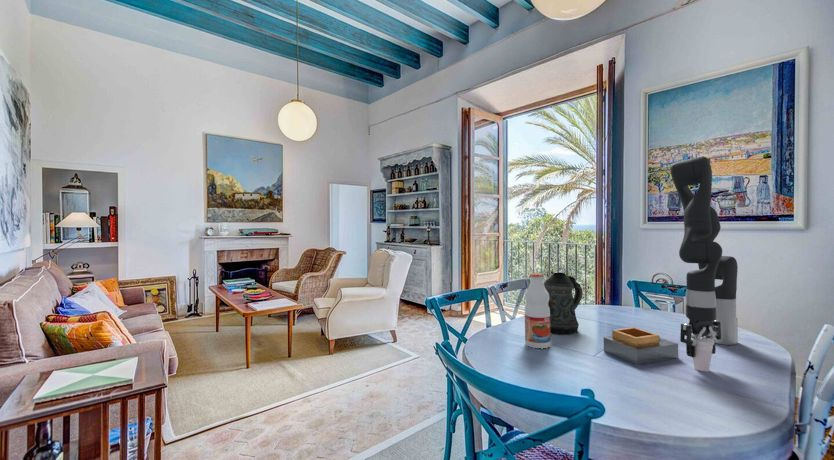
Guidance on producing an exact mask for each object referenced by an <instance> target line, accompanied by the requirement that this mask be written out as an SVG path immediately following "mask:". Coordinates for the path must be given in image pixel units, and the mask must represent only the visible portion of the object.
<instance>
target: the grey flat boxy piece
mask: <svg viewBox="0 0 834 460" xmlns="http://www.w3.org/2000/svg"><path fill="white" fill-rule="evenodd" d="M611 332H612V333H611V334H612V335H611V336H610V335H609V336H604V337H603V351H604V352H606V353H608V354H610V355H612V356H616V357H618V358H620V359H623V360H625V361H627V362H629V363H632V364H633V365H634V364H635V365H636V366H641V365H645V364H652V363H657V362H663V361H669V360H676V359H679V343H677V342H674V341H672V340H668V339H666V338H662V337H661V336H660V335H659V334H657V333H654V332H650V331H648V330H643V329H641V328H638V327H633V326H631V327H625V328H618V329H612V331H611Z"/></svg>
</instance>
